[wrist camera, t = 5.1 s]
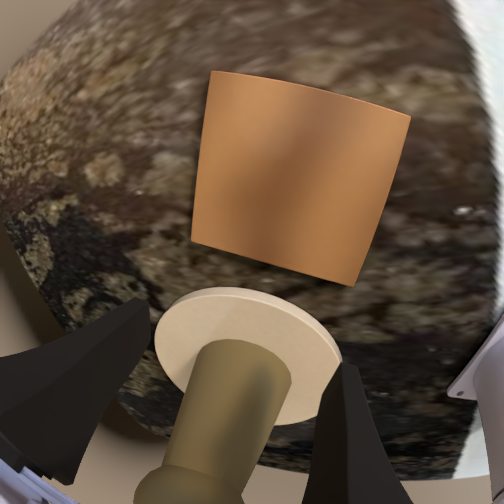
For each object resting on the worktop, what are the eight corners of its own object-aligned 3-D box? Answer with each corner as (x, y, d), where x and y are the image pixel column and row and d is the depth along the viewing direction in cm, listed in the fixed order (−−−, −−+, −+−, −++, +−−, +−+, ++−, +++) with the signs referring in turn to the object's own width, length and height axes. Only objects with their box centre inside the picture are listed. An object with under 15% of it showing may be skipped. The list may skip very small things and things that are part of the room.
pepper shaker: (234, 408, 21) (180, 544, 12) (178, 352, 19) (92, 499, 10) (310, 392, 18) (269, 563, 9) (254, 326, 17) (171, 527, 7)
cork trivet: (408, 115, 11) (411, 116, 10) (353, 282, 15) (353, 288, 14) (215, 70, 12) (210, 70, 11) (194, 237, 16) (190, 241, 15)
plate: (375, 322, 16) (376, 332, 15) (309, 431, 22) (307, 439, 21) (158, 259, 17) (151, 266, 16) (162, 385, 23) (158, 392, 23)
